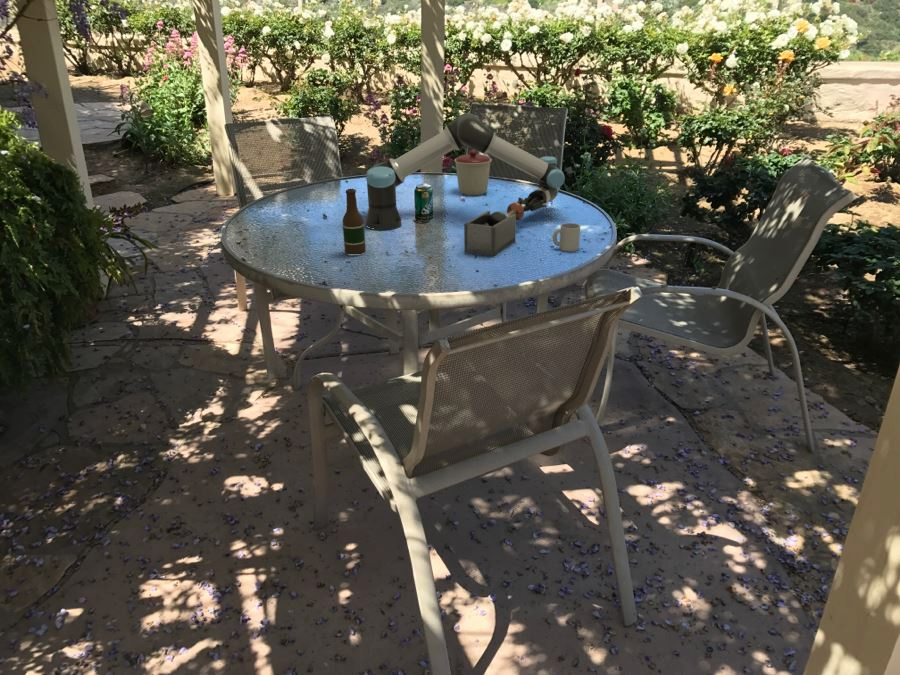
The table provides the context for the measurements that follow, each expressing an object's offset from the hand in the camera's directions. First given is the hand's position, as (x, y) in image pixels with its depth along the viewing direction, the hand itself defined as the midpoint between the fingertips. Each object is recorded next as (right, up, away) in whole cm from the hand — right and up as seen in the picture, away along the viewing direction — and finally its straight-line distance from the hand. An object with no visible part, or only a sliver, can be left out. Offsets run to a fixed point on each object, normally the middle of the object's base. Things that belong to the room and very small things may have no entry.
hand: (517, 211), depth 283 cm
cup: (+16, -18, -19) cm, 31 cm away
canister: (-16, +20, +61) cm, 66 cm away
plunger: (-5, -7, -6) cm, 10 cm away
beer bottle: (-63, -19, -20) cm, 68 cm away
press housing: (-12, -16, -16) cm, 26 cm away
